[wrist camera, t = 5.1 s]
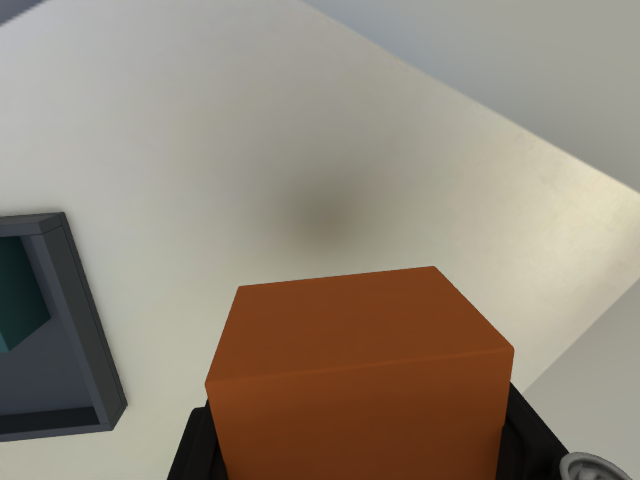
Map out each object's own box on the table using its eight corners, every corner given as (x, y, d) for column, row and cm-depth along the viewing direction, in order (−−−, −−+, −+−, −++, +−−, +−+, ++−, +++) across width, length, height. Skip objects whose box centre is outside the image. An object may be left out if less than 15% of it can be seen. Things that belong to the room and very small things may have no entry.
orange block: (238, 285, 10) (202, 383, 6) (434, 265, 10) (516, 347, 6) (268, 454, 12) (257, 601, 9) (428, 434, 13) (485, 569, 9)
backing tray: (-117, 225, 23) (-167, 237, 20) (64, 212, 23) (37, 222, 21) (-16, 419, 29) (-44, 447, 26) (128, 405, 29) (112, 430, 27)
